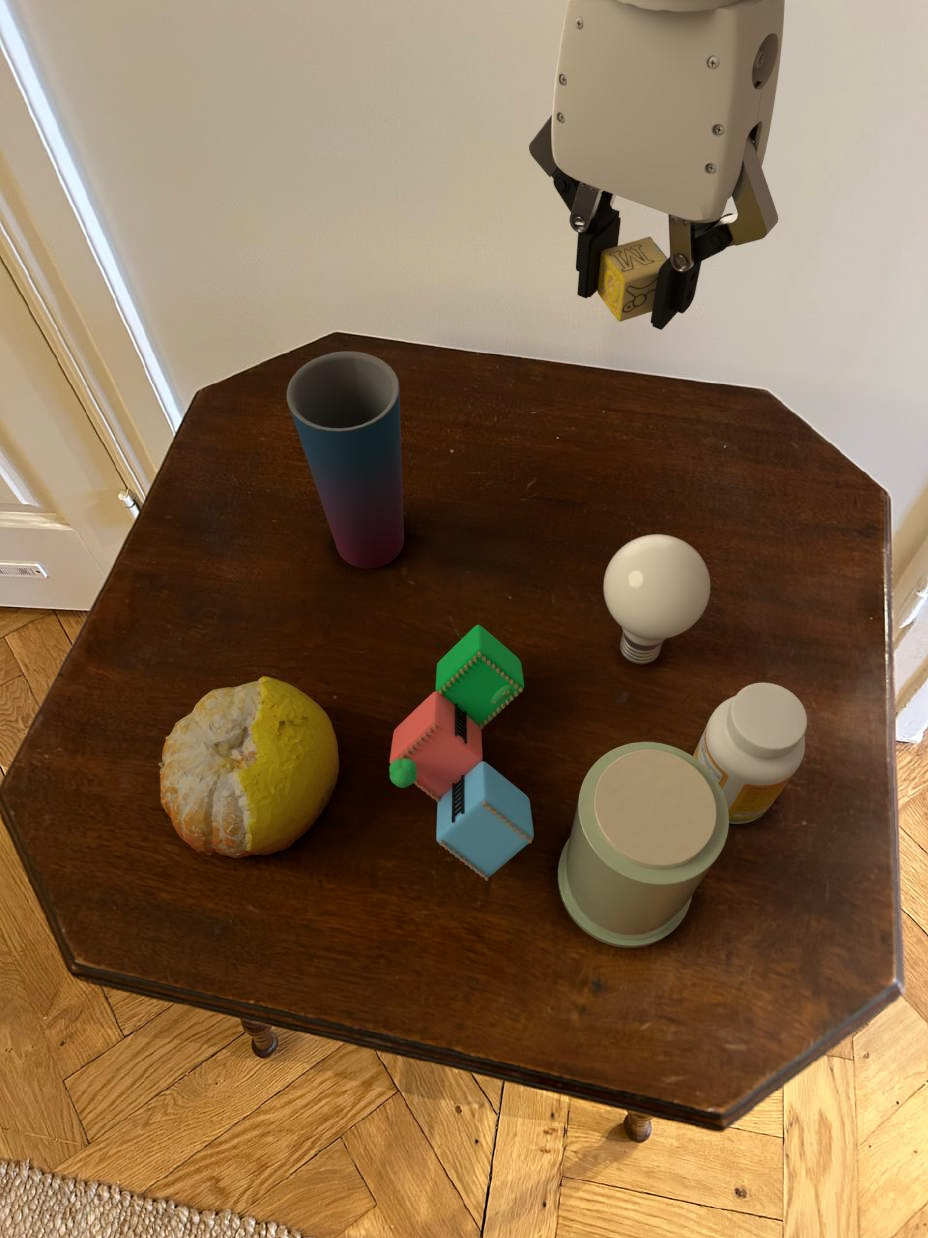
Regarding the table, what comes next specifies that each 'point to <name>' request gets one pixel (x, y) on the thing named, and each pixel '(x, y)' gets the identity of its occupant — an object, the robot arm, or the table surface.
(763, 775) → the supplement bottle
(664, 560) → the lightbulb
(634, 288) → the alphabet block
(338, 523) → the cup
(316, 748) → the fruit
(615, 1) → the robot arm
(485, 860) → the building blocks
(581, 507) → the table surface
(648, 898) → the upturned tumbler
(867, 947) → the table surface
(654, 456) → the table surface
